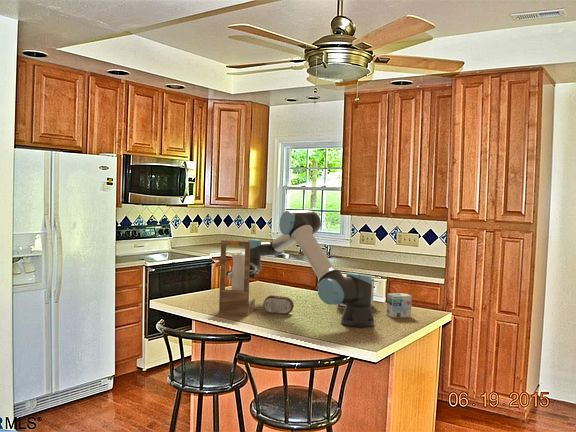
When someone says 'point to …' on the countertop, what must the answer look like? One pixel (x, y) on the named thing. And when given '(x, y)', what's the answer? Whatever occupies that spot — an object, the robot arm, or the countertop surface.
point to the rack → (235, 299)
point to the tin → (278, 305)
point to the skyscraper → (238, 271)
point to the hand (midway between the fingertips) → (235, 277)
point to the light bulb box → (399, 305)
